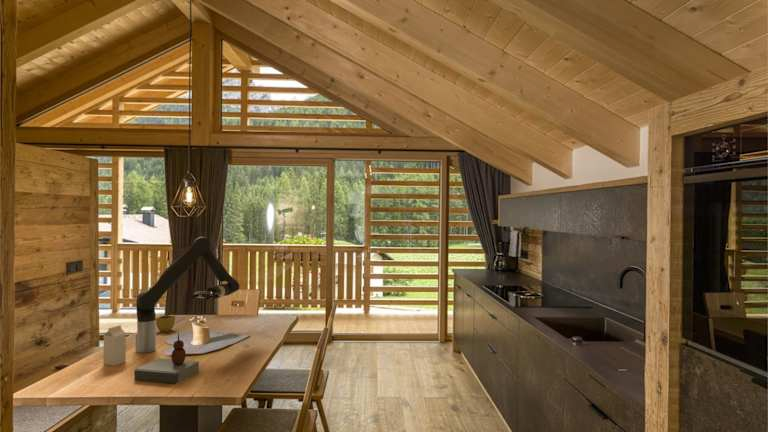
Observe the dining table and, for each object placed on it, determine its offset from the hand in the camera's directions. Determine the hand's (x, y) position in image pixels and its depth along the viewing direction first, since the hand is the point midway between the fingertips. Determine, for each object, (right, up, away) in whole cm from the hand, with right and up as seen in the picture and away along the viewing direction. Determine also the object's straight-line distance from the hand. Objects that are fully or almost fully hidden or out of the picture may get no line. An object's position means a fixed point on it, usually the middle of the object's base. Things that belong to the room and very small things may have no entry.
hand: (198, 297), depth 251 cm
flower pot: (-43, -31, +52) cm, 74 cm away
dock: (-3, -32, -29) cm, 43 cm away
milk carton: (-39, -32, -12) cm, 52 cm away
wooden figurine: (+1, -28, -27) cm, 39 cm away
